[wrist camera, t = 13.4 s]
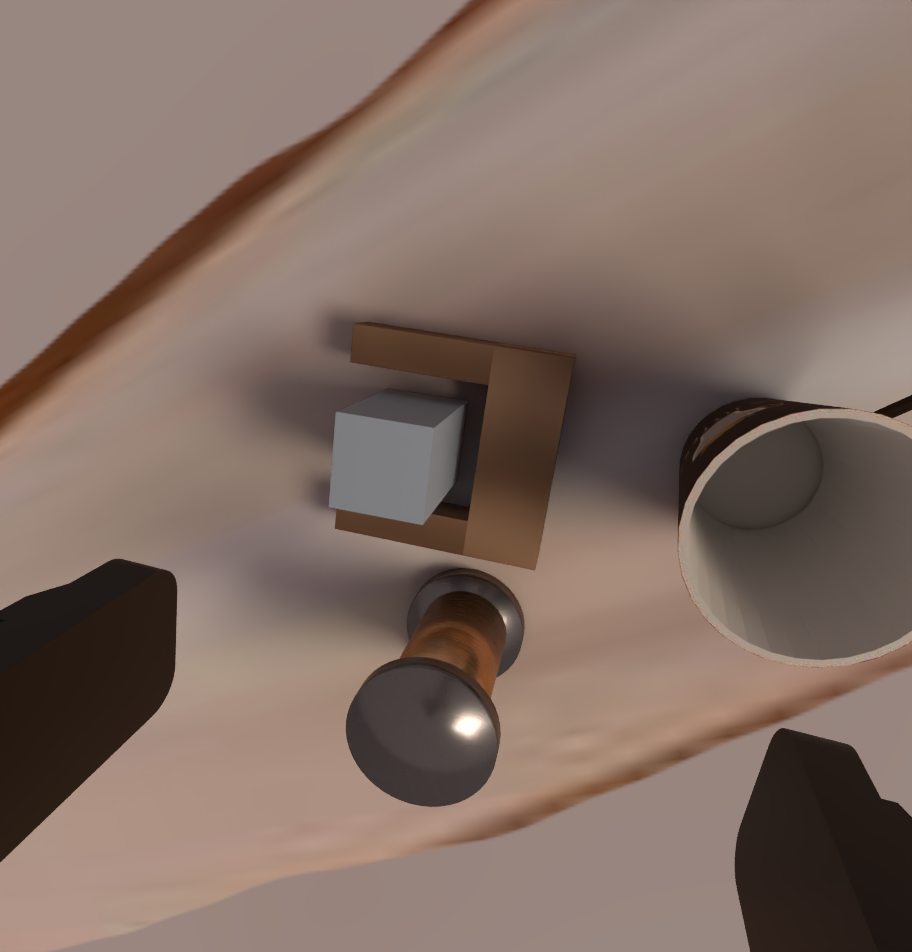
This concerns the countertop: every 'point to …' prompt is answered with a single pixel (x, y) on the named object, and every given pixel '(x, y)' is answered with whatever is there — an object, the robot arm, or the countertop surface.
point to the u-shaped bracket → (481, 441)
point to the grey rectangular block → (396, 454)
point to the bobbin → (439, 693)
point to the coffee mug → (800, 529)
